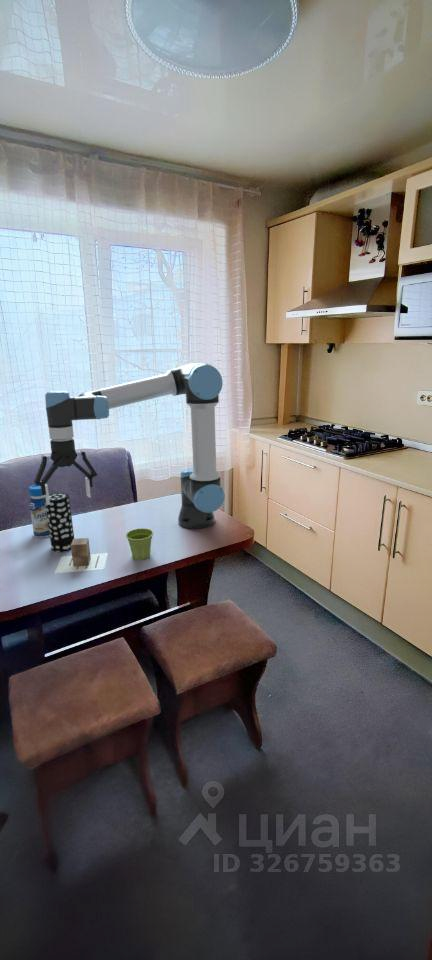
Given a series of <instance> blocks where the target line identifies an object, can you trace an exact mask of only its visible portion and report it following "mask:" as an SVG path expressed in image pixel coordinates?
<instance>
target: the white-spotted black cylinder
mask: <svg viewBox="0 0 432 960" xmlns="http://www.w3.org/2000/svg"><path fill="white" fill-rule="evenodd" d="M44 499H45V506H46V513H47V520H48V527H49V534H50V536H49V539H50V540H49V541H50V546H51V548H50V549H51V551H53V552H55V553H65V552H69V551H71V543H72V541H73V539H75V533H74V526H73V517H72V511H71V510H72V509H71V502H70V495H69V493H64V492H57V493H52V494H49V500H50V504H49V505H48V504H47V503H46V497H45V498H44Z"/></svg>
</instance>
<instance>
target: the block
mask: <svg viewBox="0 0 432 960" xmlns="http://www.w3.org/2000/svg"><path fill="white" fill-rule="evenodd" d="M70 551H71V556H72V559H73V567H77V566H89V563H90V560H91V556H90V554H91V549H90V539H89V537H83V538H82V537H81V538H74V539H73V541H72V543H71V550H70Z"/></svg>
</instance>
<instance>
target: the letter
mask: <svg viewBox="0 0 432 960" xmlns="http://www.w3.org/2000/svg"><path fill="white" fill-rule="evenodd" d="M108 555H109V553H108V552H104V553H103V552H102V553H92V554H91V553H90V556H91V560H90V563H89V566H77V567H73V559H72V555H66V556H61V558H60V560H59V562H58V564H57V566H56V569H55V570H54V574H62V573H63V574H64V573H73V572H74V573H76V572H84V571H85V572H88V571H100V570H101V571H102V570H105V568H106V563H107V559H108Z"/></svg>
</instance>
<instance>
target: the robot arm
mask: <svg viewBox="0 0 432 960" xmlns="http://www.w3.org/2000/svg"><path fill="white" fill-rule="evenodd" d="M223 382H224V381H223V378H222V375H221V373H220V371H219V370H218V369H217V368H216V367H215V366H213V365H211V364H209V363H204V362H202V363H201V362H200V363H199V362H191V363H188V364H185V365H182V366H179V367H177V368H172V369H169V370H167V372H166V373H164V374H160V375H156V376H152V377H147V378H143V379H139V380H135V381H131V382H126V383H122V384H118V385H114V386H109V387H105V388H100V389H97V390H92V391H84V392H81V393H80V394H79V395H78V396H71V395H70V391H68V390H52V391H47V392H46V393H45V395H44V398H45V399H44V400H45V411H46V417H47V426H48V434H49V439H50V441H49V442H50V451H51V454H50V455H45V454H42V455H41V462H40V464H39V467H38V470H37V472H36V475H35V478H34V481H33V483H34V485H40V486H41V493H42V494H43V495H45V497H46V503H47V504H48V505H49V504H50V500H49V495H50V492H49V486H48V484H47V483H48V482H49V480H50V479H51V477H52V476H53V474H55V471H56V470H58V468H64V467H71V466H74V467H76V469H78V470H79V471H80V472H81V473H82V474H83V475H85V478H84V481H85V491H86V493H85V494H86V496H87V498H88V499H89V498H91V497H92V495H91V488H93V485H94V484H93V479H94V478H95V477H97V476H98V473H97V472H96V470H95V469H94V467H93V465H92V464H91V462H90V461H89V460H88V458H87V455H86V451H84V450H82V449H81V450H79V451H76V446H75V439H74V428H73V421H81V420H82V421H84V420H86V421H87V420H102V419H108V418H109V416H110V410H111V409H115V408H119V407H123V406H128V405H131V404H132V405H133V404H136V403H140V402H144V401H145V402H146V401H148V400H152V399H155V398H160V397H164V396H169V395H172V396H180V395H185V403H186V405H187V406H189V408H190V419H191V424H190V425H191V442H192V444H191V445H192V465H193V467H190V468H185V469H182V470H181V472H180V490H181V491H180V492H181V507H180V510H179V513H178V516H177V517H178V521H177V522H178V524H179V526H181V527H183V528H186V529H195V530H196V529H204V528H208V527H210V526H212V525H214V524H215V514H214V512H217V511H218V510H219V509H220V508H221V507H222V506H223V504H224V502H225V499H226V495H225V491H224V489H223V487H222V486H221V483H222V482H221V481H222V479H221V473H219V471H217V453H216V450H217V447H216V445H217V444H216V409H215V408H216V406H217V405H218V404H219V402H220V398H219V397H220V396H219V395H220V393H221V391H222V389H223V384H224V383H223ZM77 457H79V458H80V459H81V460H82V461H83V463H84V465H86V467H87V468H88V470H89V472H90V473H89V472H88V471H87V470H86V469H84V468H83V467H82V466H81V465H80V464H79V463H78V462H77V461H76V459H77ZM50 460H51V461H52V464H51V466H50V467H49V469H48V470H47V471H46V473H45V475H43V474H44V471H45V469H46V467H47V463H49V461H50Z"/></svg>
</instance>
